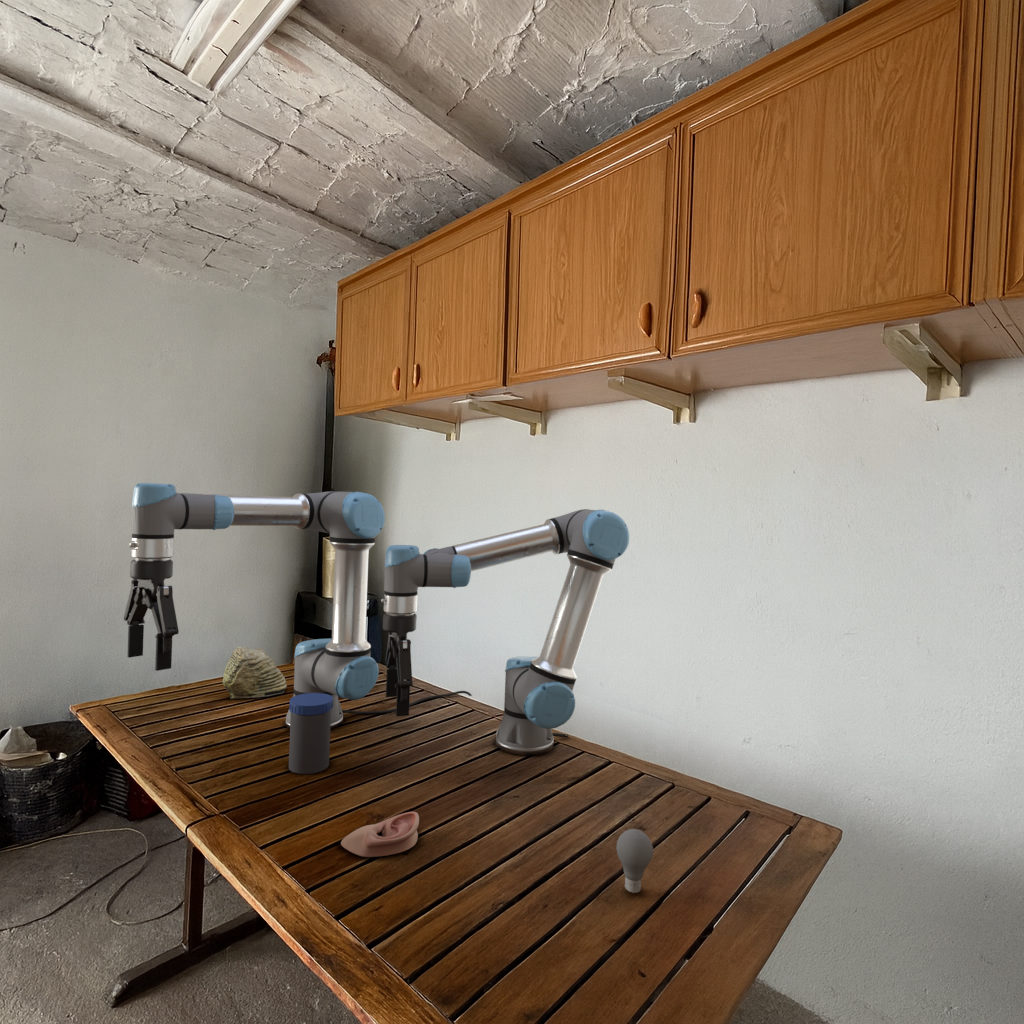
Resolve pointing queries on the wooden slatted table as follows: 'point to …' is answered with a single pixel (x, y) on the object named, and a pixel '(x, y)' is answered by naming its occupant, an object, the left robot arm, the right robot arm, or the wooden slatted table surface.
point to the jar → (309, 743)
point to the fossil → (252, 674)
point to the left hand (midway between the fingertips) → (148, 662)
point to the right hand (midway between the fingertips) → (396, 705)
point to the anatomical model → (384, 836)
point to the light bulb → (634, 857)
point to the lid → (311, 704)
